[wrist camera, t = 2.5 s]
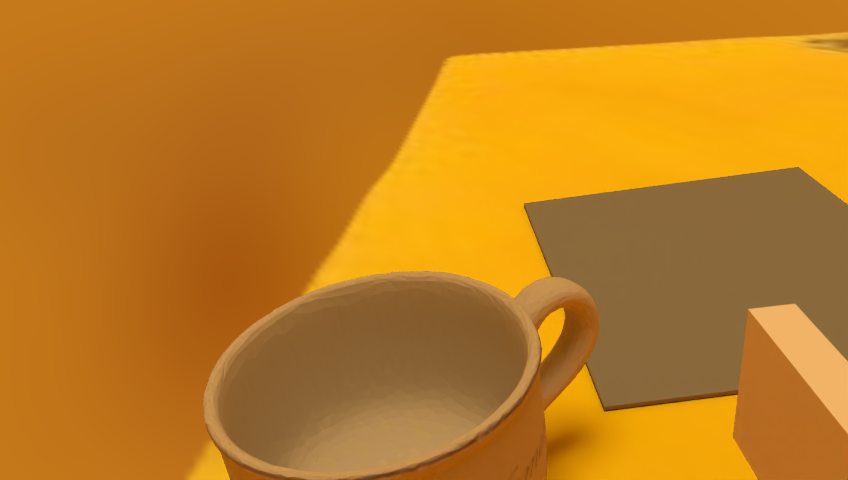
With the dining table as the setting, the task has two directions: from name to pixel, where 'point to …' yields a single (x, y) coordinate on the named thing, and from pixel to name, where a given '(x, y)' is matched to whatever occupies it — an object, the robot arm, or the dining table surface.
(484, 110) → the dining table surface
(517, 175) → the dining table surface
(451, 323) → the teacup
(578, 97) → the dining table surface
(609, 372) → the placemat
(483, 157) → the dining table surface
